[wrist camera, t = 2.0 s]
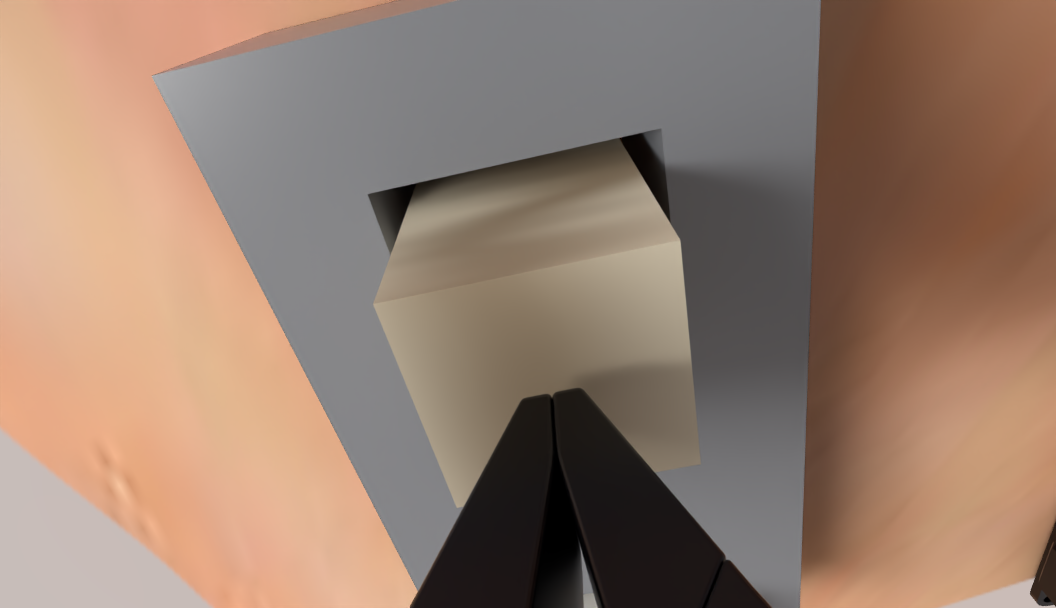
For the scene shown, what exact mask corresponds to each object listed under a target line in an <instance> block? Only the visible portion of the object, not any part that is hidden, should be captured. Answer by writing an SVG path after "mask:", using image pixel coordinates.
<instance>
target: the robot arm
mask: <svg viewBox="0 0 1056 608" xmlns="http://www.w3.org/2000/svg"><path fill="white" fill-rule="evenodd" d="M580 546H581V548H580ZM581 550H582V554H583V558H584V561H585V565H586V569H587V573H588V576H589V580H590V583H591V587H592V590H593V594H594V597H595V601H596V604H597V608H772V607H771V606H770V604H769V603H768V602H767V601H766V600H765V599H764V598H763V597H762V596H761V595H760V594H759V592H758V591H757V590H756V589H755V588H754V587H753V586H752V585H751V583H750V582H749V581H748V580H747V579H746V578H745V576H744V575H743V574H742V573H741V572H740V571H739V569H738V568H737V567H736V566H735V565H734V564H733V562H732V561H730V560H726V555H725V554H724V553H723V551H722V550H721V549H720V548H719V547H718V546H717V544H716V543H715V542H714V541H713V540H712V539H711V537H710V536H709V535H708V534H707V533H706V532H705V530H704V529H703V528H702V527H701V526H700V525H699V523H698V522H697V521H696V520H695V519H694V518H693V516H692V515H691V514H690V513H689V512H688V511H687V509H686V508H685V507H684V506H683V505H682V504H681V502H680V501H679V500H678V499H677V498H676V497H675V495H674V494H673V493H672V492H671V491H670V490H669V488H668V487H667V486H666V485H665V484H664V483H663V481H662V480H661V479H660V478H659V477H658V476H657V474H656V473H655V472H654V471H653V470H652V469H651V467H650V466H649V465H648V464H647V463H646V462H645V460H644V459H643V458H642V457H641V456H640V455H639V453H638V452H637V451H636V450H635V449H634V448H633V446H632V445H631V444H630V443H629V442H628V441H627V439H626V438H625V437H624V436H623V435H622V434H621V432H620V431H619V430H618V429H617V428H616V427H615V425H614V424H613V423H612V422H611V421H610V420H609V418H608V417H607V416H606V415H605V414H604V413H603V411H602V410H601V409H600V408H599V407H598V406H597V404H596V403H595V402H594V401H593V400H592V399H591V397H590V396H589V395H588V394H587V393H586V392H585V390H583V389H582V388H572V389H567V390H562V391H557V392H555V393H554V394H553V397H552V396H551V395H550V394H541V395H536V396H530V397H526V398H523V399H522V400H521V401H520V402H519V404H518V406H517V408H516V410H515V412H514V414H513V415H512V417H511V419H510V421H509V423H508V425H507V427H506V428H505V430H504V432H503V434H502V436H501V438H500V440H499V442H498V443H497V445H496V447H495V449H494V451H493V453H492V455H491V456H490V458H489V460H488V462H487V464H486V466H485V468H484V469H483V471H482V473H481V475H480V477H479V479H478V481H477V482H476V484H475V486H474V488H473V490H472V492H471V494H470V496H469V497H468V499H467V501H466V503H465V505H464V507H463V509H462V510H461V512H460V514H459V516H458V518H457V520H456V522H455V523H454V525H453V527H452V529H451V531H450V533H449V535H448V537H447V538H446V540H445V542H444V544H443V546H442V548H441V550H440V551H439V553H438V555H437V557H436V559H435V561H434V563H433V564H432V566H431V568H430V570H429V572H428V574H427V576H426V577H425V579H424V581H423V583H422V585H421V587H420V589H419V591H418V592H417V594H416V596H415V598H414V600H413V602H412V604H411V605H410V608H584V600H583V572H582V556H581ZM1030 595H1031V596H1032V597H1033V599H1034V600H1035V601H1036V602H1037V603H1038V604H1039V605H1041V606H1050V605H1055V606H1056V523H1055V525H1054V528H1053V531H1052V534H1051V536H1050V539H1049V542H1048V544H1047V547H1046V550H1045V553H1044V555H1043V558H1042V561H1041V564H1040V566H1039V569H1038V572H1037V574H1036V577H1035V580H1034V583H1033V585H1032V588H1031V591H1030Z"/></svg>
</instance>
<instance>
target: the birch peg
mask: <svg viewBox="0 0 1056 608" xmlns="http://www.w3.org/2000/svg"><path fill="white" fill-rule="evenodd" d="M373 305H374V308H375V310H376V313H377V315H378V317H379V320H380V322H381V325H382V327H383V330H384V332H385V334H386V337H387V339H388V342H389V344H390V347H391V349H392V351H393V354H394V356H395V359H396V361H397V364H398V366H399V369H400V371H401V373H402V376H403V378H404V381H405V383H406V386H407V388H408V390H409V393H410V395H411V398H412V400H413V403H414V405H415V407H416V410H417V412H418V415H419V417H420V420H421V422H422V424H423V427H424V429H425V432H426V434H427V437H428V439H429V441H430V444H431V446H432V449H433V451H434V454H435V456H436V458H437V461H438V463H439V466H440V468H441V471H442V473H443V476H444V478H445V480H446V483H447V485H448V488H449V490H450V493H451V495H452V497H453V500H454V502H455V505H456V507H457V508H459V507H464V505H465V503H466V501H467V499H468V497H469V496H470V494H471V492H472V490H473V488H474V486H475V484H476V482H477V481H478V479H479V477H480V475H481V473H482V471H483V469H484V468H485V466H486V464H487V462H488V460H489V458H490V456H491V455H492V453H493V451H494V449H495V447H496V445H497V443H498V442H499V440H500V438H501V436H502V434H503V432H504V430H505V428H506V427H507V425H508V423H509V421H510V419H511V417H512V415H513V414H514V412H515V410H516V408H517V406H518V404H519V402H520V401H521V400H522V399H523V398H526V397H530V396H536V395H541V394H550V395H551V396H552V397H553V394H554V393H555V392H557V391H562V390H567V389H572V388H582V389H583V390H585V392H586V393H587V394H588V395H589V396H590V397H591V399H592V400H593V401H594V402H595V403H596V404H597V406H598V407H599V408H600V409H601V410H602V411H603V413H604V414H605V415H606V416H607V417H608V418H609V420H610V421H611V422H612V423H613V424H614V425H615V427H616V428H617V429H618V430H619V431H620V432H621V434H622V435H623V436H624V437H625V438H626V439H627V441H628V442H629V443H630V444H631V445H632V446H633V448H634V449H635V450H636V451H637V452H638V453H639V455H640V456H641V457H642V458H643V459H644V460H645V462H646V463H647V464H648V465H649V466H650V467H651V469H652V470H653V471H654V472H660V471H666V470H671V469H677V468H682V467H688V466H694V465H699V464H701V460H700V449H699V438H698V427H697V416H696V405H695V395H694V384H693V373H692V362H691V351H690V340H689V329H688V318H687V307H686V297H685V286H684V275H683V264H682V253H681V242H680V239H679V237H678V235H677V234H676V232H675V230H674V229H673V227H672V225H671V224H670V222H669V220H668V219H667V217H666V215H665V214H664V212H663V210H662V209H661V207H660V205H659V204H658V202H657V200H656V199H655V197H654V196H653V194H652V192H651V191H650V189H649V187H648V186H647V184H646V182H645V181H644V179H643V177H642V176H641V174H640V172H639V171H638V169H637V167H636V166H635V164H634V162H633V161H632V159H631V157H630V156H629V154H628V152H627V151H626V149H625V147H624V146H623V144H622V142H621V141H620V139H619V138H616V139H611V140H607V141H602V142H598V143H593V144H589V145H585V146H580V147H576V148H571V149H567V150H562V151H558V152H553V153H549V154H544V155H540V156H535V157H531V158H526V159H522V160H517V161H513V162H509V163H504V164H500V165H495V166H491V167H486V168H482V169H477V170H473V171H468V172H464V173H459V174H455V175H450V176H446V177H442V178H437V179H433V180H428V181H424V182H419V183H416V186H415V189H414V192H413V194H412V197H411V200H410V203H409V206H408V208H407V211H406V214H405V217H404V219H403V222H402V225H401V228H400V231H399V233H398V236H397V239H396V242H395V244H394V247H393V250H392V253H391V256H390V258H389V261H388V264H387V267H386V270H385V272H384V275H383V278H382V281H381V283H380V286H379V289H378V292H377V295H376V297H375V300H374V303H373Z"/></svg>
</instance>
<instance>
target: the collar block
mask: <svg viewBox="0 0 1056 608" xmlns="http://www.w3.org/2000/svg"><path fill="white" fill-rule="evenodd" d="M820 9H821V0H397V1H393V2H389V3H385V4H381V5H377V6H373V7H369V8H365V9H361V10H357V11H353V12H349V13H345V14H341V15H337V16H333V17H329V18H325V19H321V20H317V21H313V22H309V23H305V24H301V25H297V26H293V27H289V28H285V29H281V30H277V31H273V32H269V33H265V34H262V35H259V36H257V37H254V38H251V39H249V40H246V41H243V42H241V43H238V44H235V45H233V46H230V47H227V48H225V49H222V50H219V51H217V52H214V53H211V54H209V55H206V56H203V57H201V58H198V59H195V60H193V61H190V62H187V63H185V64H182V65H179V66H177V67H174V68H171V69H169V70H166V71H163V72H161V73H158V74H155V75H153V76H152V78H153V80H154V82H155V83H156V85H157V87H158V89H159V91H160V93H161V95H162V97H163V99H164V101H165V103H166V105H167V107H168V109H169V111H170V112H171V114H172V116H173V118H174V120H175V122H176V124H177V126H178V128H179V130H180V132H181V134H182V136H183V138H184V140H185V141H186V143H187V145H188V147H189V149H190V151H191V153H192V155H193V157H194V159H195V161H196V163H197V165H198V167H199V169H200V171H201V172H202V174H203V176H204V178H205V180H206V182H207V184H208V186H209V188H210V190H211V192H212V194H213V196H214V198H215V200H216V201H217V203H218V205H219V207H220V209H221V211H222V213H223V215H224V217H225V219H226V221H227V223H228V225H229V227H230V229H231V231H232V232H233V234H234V236H235V238H236V240H237V242H238V244H239V246H240V248H241V250H242V252H243V254H244V256H245V258H246V260H247V261H248V263H249V265H250V267H251V269H252V271H253V273H254V275H255V277H256V279H257V281H258V283H259V285H260V287H261V289H262V290H263V292H264V294H265V296H266V298H267V300H268V302H269V304H270V306H271V308H272V310H273V312H274V314H275V316H276V318H277V320H278V321H279V323H280V325H281V327H282V329H283V331H284V333H285V335H286V337H287V339H288V341H289V343H290V345H291V347H292V349H293V350H294V352H295V354H296V356H297V358H298V360H299V362H300V364H301V366H302V368H303V370H304V372H305V374H306V376H307V378H308V379H309V381H310V383H311V385H312V387H313V389H314V391H315V393H316V395H317V397H318V399H319V401H320V403H321V405H322V407H323V409H324V410H325V412H326V414H327V416H328V418H329V420H330V422H331V424H332V426H333V428H334V430H335V432H336V434H337V436H338V438H339V439H340V441H341V443H342V445H343V447H344V449H345V451H346V453H347V455H348V457H349V459H350V461H351V463H352V465H353V467H354V468H355V470H356V472H357V474H358V476H359V478H360V480H361V482H362V484H363V486H364V488H365V490H366V492H367V494H368V496H369V498H370V499H371V501H372V503H373V505H374V507H375V509H376V511H377V513H378V515H379V517H380V519H381V521H382V523H383V525H384V527H385V528H386V530H387V532H388V534H389V536H390V538H391V540H392V542H393V544H394V546H395V548H396V550H397V552H398V554H399V556H400V558H401V559H402V561H403V563H404V565H405V567H406V569H407V571H408V573H409V575H410V577H411V579H412V581H413V583H414V585H415V587H416V588H417V590H418V591H419V589H420V587H421V585H422V583H423V581H424V579H425V577H426V576H427V574H428V572H429V570H430V568H431V566H432V564H433V563H434V561H435V559H436V557H437V555H438V553H439V551H440V550H441V548H442V546H443V544H444V542H445V540H446V538H447V537H448V535H449V533H450V531H451V529H452V527H453V525H454V523H455V522H456V520H457V518H458V516H459V514H460V512H461V510H462V509H463V507H459V508H457V507H456V505H455V502H454V500H453V497H452V495H451V493H450V490H449V488H448V485H447V483H446V480H445V478H444V476H443V473H442V471H441V468H440V466H439V463H438V461H437V458H436V456H435V454H434V451H433V449H432V446H431V444H430V441H429V439H428V437H427V434H426V432H425V429H424V427H423V424H422V422H421V420H420V417H419V415H418V412H417V410H416V407H415V405H414V403H413V400H412V398H411V395H410V393H409V390H408V388H407V386H406V383H405V381H404V378H403V376H402V373H401V371H400V369H399V366H398V364H397V361H396V359H395V356H394V354H393V351H392V349H391V347H390V344H389V342H388V339H387V337H386V334H385V332H384V330H383V327H382V325H381V322H380V320H379V317H378V315H377V313H376V310H375V308H374V305H373V303H374V300H375V297H376V295H377V292H378V289H379V286H380V283H381V281H382V278H383V275H384V272H385V270H386V267H387V264H388V261H389V258H390V256H391V253H392V250H393V247H394V244H395V242H396V239H397V236H398V233H399V231H400V228H401V225H402V222H403V219H404V217H405V214H406V211H407V208H408V206H409V203H410V200H411V197H412V194H413V192H414V189H415V186H416V183H419V182H424V181H428V180H433V179H437V178H442V177H446V176H450V175H455V174H459V173H464V172H468V171H473V170H477V169H482V168H486V167H491V166H495V165H500V164H504V163H509V162H513V161H517V160H522V159H526V158H531V157H535V156H540V155H544V154H549V153H553V152H558V151H562V150H567V149H571V148H576V147H580V146H585V145H589V144H593V143H598V142H602V141H607V140H611V139H616V138H620V137H622V143H623V146H624V147H625V149H626V151H627V152H628V154H629V156H630V157H631V159H632V161H633V162H634V164H635V166H636V167H637V169H638V171H639V172H640V174H641V176H642V177H643V179H644V181H645V182H646V184H647V186H648V187H649V189H650V191H651V192H652V194H653V196H654V197H655V199H656V200H657V202H658V204H659V205H660V207H661V209H662V210H663V212H664V214H665V215H666V217H667V219H668V220H669V222H670V224H671V225H672V227H673V229H674V230H675V232H676V234H677V235H678V237H679V239H680V242H681V253H682V264H683V275H684V286H685V297H686V307H687V318H688V329H689V340H690V351H691V362H692V373H693V384H694V395H695V405H696V416H697V427H698V438H699V449H700V460H701V464H699V465H694V466H688V467H682V468H677V469H671V470H666V471H660V472H655V473H656V474H657V476H658V477H659V478H660V479H661V480H662V481H663V483H664V484H665V485H666V486H667V487H668V488H669V490H670V491H671V492H672V493H673V494H674V495H675V497H676V498H677V499H678V500H679V501H680V502H681V504H682V505H683V506H684V507H685V508H686V509H687V511H688V512H689V513H690V514H691V515H692V516H693V518H694V519H695V520H696V521H697V522H698V523H699V525H700V526H701V527H702V528H703V529H704V530H705V532H706V533H707V534H708V535H709V536H710V537H711V539H712V540H713V541H714V542H715V543H716V544H717V546H718V547H719V548H720V549H721V550H722V551H723V553H724V554H725V555H726V560H730V561H732V562H733V564H734V565H735V566H736V567H737V568H738V569H739V571H740V572H741V573H742V574H743V575H744V576H745V578H746V579H747V580H748V581H749V582H750V583H751V585H752V586H753V587H754V588H755V589H756V590H757V591H758V592H759V594H760V595H761V596H762V597H763V598H764V599H765V600H766V601H767V602H768V603H769V604H770V606H771V607H772V608H800V585H801V556H802V527H803V498H804V470H805V441H806V412H807V383H808V354H809V325H810V297H811V268H812V239H813V210H814V181H815V153H816V124H817V95H818V66H819V37H820ZM580 548H581V546H580ZM581 556H582V572H583V594H589V593H593V590H592V587H591V583H590V580H589V576H588V573H587V569H586V565H585V561H584V558H583V554H582V550H581Z"/></svg>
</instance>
